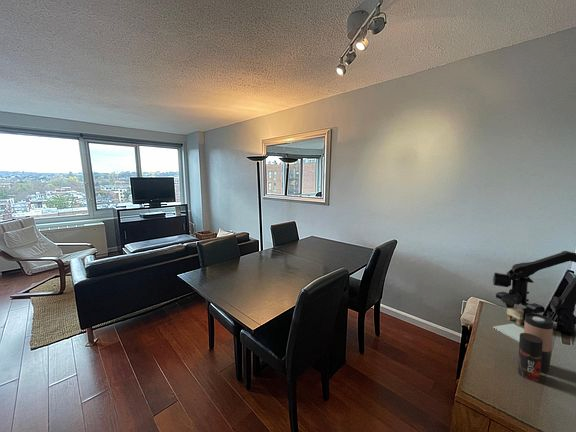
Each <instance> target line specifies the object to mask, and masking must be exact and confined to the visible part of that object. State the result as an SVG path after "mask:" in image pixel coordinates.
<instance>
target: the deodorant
mask: <svg viewBox="0 0 576 432" xmlns="http://www.w3.org/2000/svg"><path fill="white" fill-rule="evenodd" d="M542 345H543V340H542V339H541V338H539V337H537V336H535V335H532V334H529V333H520V339H519V342H518V356H517V373H518V375H519V376H521V377H523V378H524V379H526V380H528V381H532V382H540V380H541V373H542V372H541V359H542Z"/></svg>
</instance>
